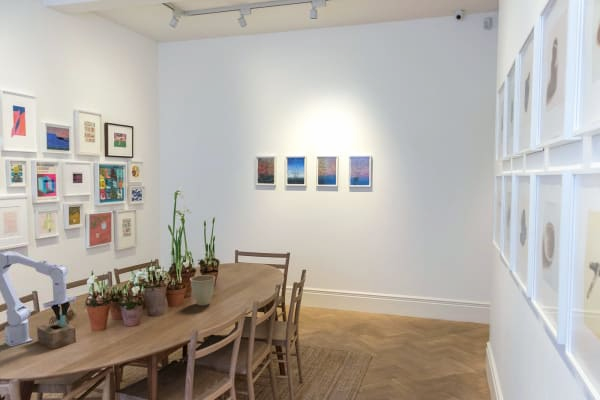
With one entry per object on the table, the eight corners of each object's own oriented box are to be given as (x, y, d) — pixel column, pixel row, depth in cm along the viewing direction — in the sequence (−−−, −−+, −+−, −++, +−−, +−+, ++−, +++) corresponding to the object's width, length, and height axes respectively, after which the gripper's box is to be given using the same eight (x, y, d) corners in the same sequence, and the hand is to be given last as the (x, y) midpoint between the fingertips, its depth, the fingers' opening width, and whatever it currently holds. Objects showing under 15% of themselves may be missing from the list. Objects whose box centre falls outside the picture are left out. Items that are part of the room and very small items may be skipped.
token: (61, 326, 211) (61, 316, 210) (57, 324, 214) (56, 314, 214) (65, 325, 212) (65, 315, 212) (61, 323, 215) (60, 313, 215)
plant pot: (186, 306, 263) (185, 280, 262) (197, 299, 278) (197, 274, 277) (209, 308, 260) (208, 281, 259) (219, 300, 274) (219, 275, 273)
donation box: (51, 348, 202) (50, 334, 201) (37, 341, 212) (37, 326, 212) (75, 341, 210) (75, 327, 210) (61, 334, 221) (61, 320, 220)
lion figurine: (77, 323, 237) (76, 306, 237) (77, 326, 233) (76, 309, 232) (45, 328, 230) (44, 311, 229) (45, 331, 225) (44, 314, 225)
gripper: (47, 296, 204) (48, 324, 205) (78, 289, 215) (80, 316, 216) (40, 293, 209) (42, 321, 209) (72, 287, 220) (73, 313, 221)
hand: (61, 319), depth 213 cm, fingers closed on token, 2 cm apart
